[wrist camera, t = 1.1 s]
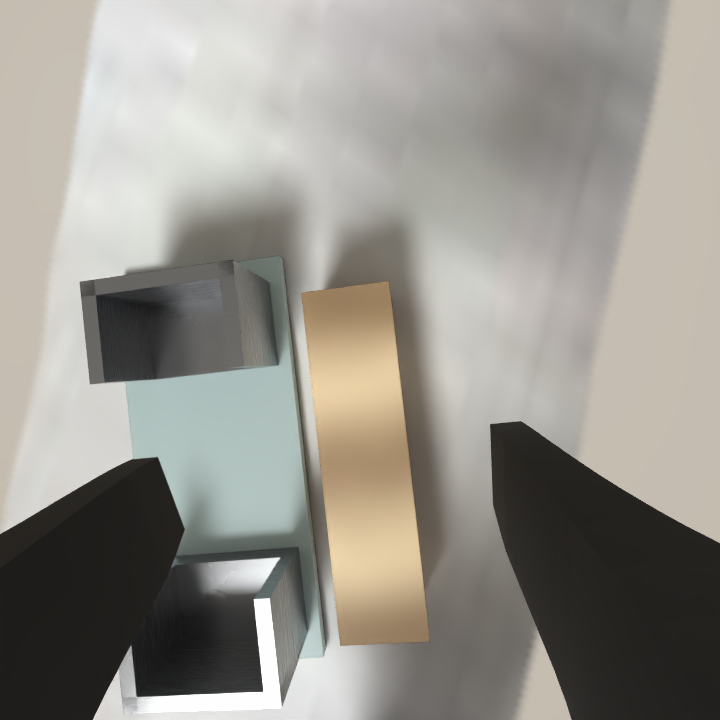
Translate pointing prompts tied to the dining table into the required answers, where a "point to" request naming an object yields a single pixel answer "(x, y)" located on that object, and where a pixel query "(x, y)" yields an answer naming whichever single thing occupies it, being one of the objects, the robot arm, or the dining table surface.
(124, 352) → the bracket
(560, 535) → the robot arm
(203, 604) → the bracket
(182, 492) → the board
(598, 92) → the dining table surface
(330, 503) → the rail
